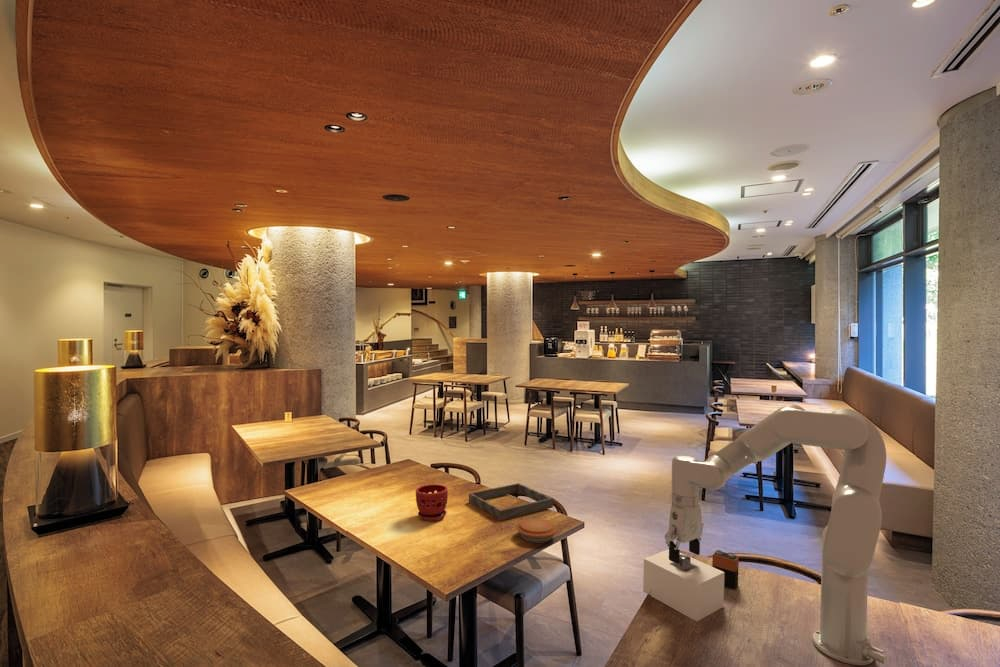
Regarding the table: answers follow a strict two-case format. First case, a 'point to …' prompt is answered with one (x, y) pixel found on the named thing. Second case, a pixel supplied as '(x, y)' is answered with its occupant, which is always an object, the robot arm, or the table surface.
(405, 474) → the table surface
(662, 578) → the socket block
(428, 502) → the plant pot
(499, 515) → the open rectangular frame
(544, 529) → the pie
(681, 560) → the peg
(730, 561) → the battery
